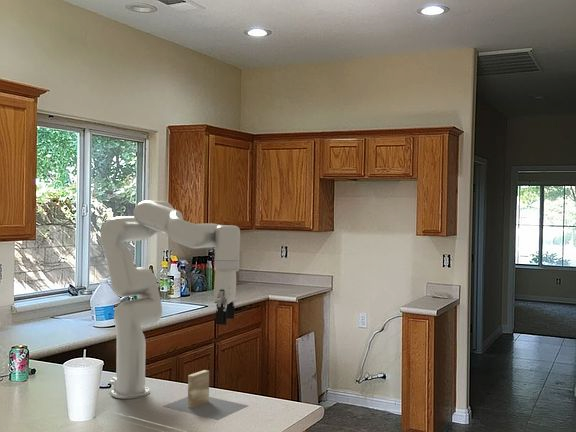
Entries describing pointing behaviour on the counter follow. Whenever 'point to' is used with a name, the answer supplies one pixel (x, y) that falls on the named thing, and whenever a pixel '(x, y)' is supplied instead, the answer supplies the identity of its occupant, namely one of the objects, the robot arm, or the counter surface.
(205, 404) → the rubber mat
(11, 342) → the counter surface
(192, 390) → the birch tile
